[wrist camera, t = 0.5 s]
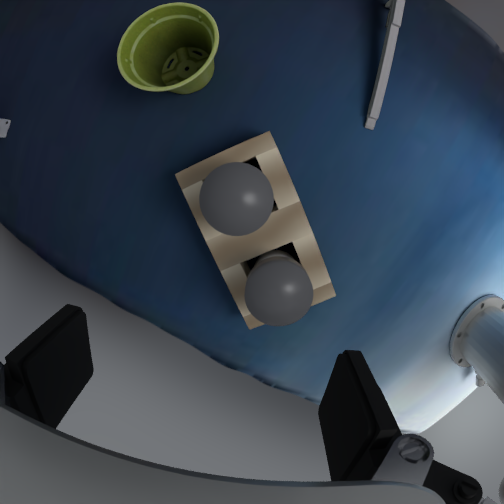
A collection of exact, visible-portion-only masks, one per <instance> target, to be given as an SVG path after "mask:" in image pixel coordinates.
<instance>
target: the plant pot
mask: <svg viewBox="0 0 504 504" xmlns="http://www.w3.org/2000/svg"><path fill="white" fill-rule="evenodd" d="M218 43H219V32H218V28H217V25H216V22H215V20H214V19H213V17H212V16H211V15H210V14H209V13H208V12H207V11H206V10H204V9H202V8H201V7H199V6H196V5H193V4H188V3H170V4H164V5H161V6H158V7H155V8H153V9H151V10H149V11H147V12H145V13H144V14H143V15H141V16H140V17H139V18H137V19H136V20H135V21H134V22H133V23H132V24H131V25H130V26H129V27H128V29H127V30H126V32H125V33H124V35H123V37H122V39H121V41H120V44H119V47H118V52H117V62H118V67H119V70H120V72H121V74H122V76H123V77H124V79H125V80H126V81H127V82H128V83H130V84H131V85H133V86H135V87H137V88H139V89H142V90H146V91H155V92H160V91H171V92H174V93H178V94H189V93H193V92H195V91H198V90H200V89H202V88H203V87H204V86H205V85H207V83H208V82H209V81H210V79H211V78H212V75H213V72H214V56H215V54H216V51H217V48H218ZM193 51H198V52H201V53H202V54H203V55H202V56H200V55H198V54H196V53H192V52H193ZM171 59H174V61H173V62H172V64H171V65H170V68H169V69H168V68H167V66H168V64H169V62H170V60H171ZM186 67H189V70H188V71H185V68H186ZM173 84H175V85H173Z"/></svg>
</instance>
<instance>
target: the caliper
mask: <svg viewBox="0 0 504 504" xmlns="http://www.w3.org/2000/svg"><path fill="white" fill-rule="evenodd" d="M404 4H405V0H390V1H388V2H387V3H386V4H385V7H386V8H389V9H390V11H389V14H388V17H387V23H386V26H385V27H386V28H387V31H386V36H385V41H384V45H383V50H382V55H381V59H380V63H379V68H378V72H377V76H376V80H375V84H374V88H373V92H372V96H371V100H370V104H369V108H368V113H367V120H366V124H365V128H368V129H370V130H373V128H374V126H375V123H376V120H378V117H379V113H380V109H381V105H382V102H383V98H384V94H385V90H386V86H387V81H388V77H389V73H390V69H391V64H392V60H393V55H394V50H395V45H396V40H397V35H398V30H399V27H400V26H401V21H402V15H403V9H404Z"/></svg>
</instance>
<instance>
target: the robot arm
mask: <svg viewBox="0 0 504 504" xmlns="http://www.w3.org/2000/svg"><path fill="white" fill-rule="evenodd" d="M450 355H451V357H452V359H453V360H454V362H455V363H456V364H457V365H459V366H461V367H471V366H472V367H473V368H474V370H475V373H476V374H477V375H476V385H477V386H483V385H484V384H485V382H486V383H487V384H488V386H489V387H490V388H491V389H492V390H493V392H494V393H495V394H496V395H497V396H498V398H499V399H500V400H501V401H502V403H503V404H504V300H503V299H502V298H500V297H498V296H496V295H487V296H484V297H482V298H480V299H478V300H477V301H476V302H474V303H473V304H472V305H471V306H470V307H469V308H468V309H467V310H466V311H465V312H464V314H463V315H462V316H461V318H460V319H459V321H458V323H457V325H456V327H455V329H454V331H453V334H452V337H451V341H450ZM5 360H6V364H5V365H3V364H2V363H1V362H0V504H497V503H495V502H494V501H493V500H492V499H490V498H489V497H486V498H485V499H484V498H482V488H481V486H480V484H479V482H478V481H477V480H476V479H474V478H472V477H470V476H468V475H466V474H463V473H461V472H459V471H457V470H454V469H452V468H450V467H448V466H446V465H443V464H441V463H439V462H437V461H435V460H433V457H434V450H433V447H432V445H431V444H430V443H429V442H428V441H427V440H426V439H425V438H423V437H421V436H419V435H416V434H404V435H402V434H401V431H400V429H399V427H398V425H397V423H396V421H395V418H394V416H393V414H392V412H391V410H390V408H389V406H388V403H387V401H386V399H385V397H384V395H383V393H382V391H381V389H380V388H379V386H378V385H377V383H376V381H375V379H374V377H373V375H372V373H371V371H370V369H369V367H368V365H367V363H366V360H365V358H364V356H363V354H362V353H361V351H354V350H345V351H344V352H343V354H339V355H338V357H337V360H336V362H335V365H334V368H333V371H332V374H331V377H330V380H329V382H328V385H327V388H326V390H325V393H324V396H323V398H322V401H321V404H320V406H319V411H318V415H319V420H320V425H321V430H322V435H323V440H324V445H325V450H326V455H327V460H328V465H329V471H330V476H331V481H328V482H296V481H295V482H294V481H270V480H255V479H244V478H234V477H227V476H219V475H212V474H206V473H200V472H194V471H188V470H184V469H179V468H174V467H169V466H165V465H161V464H157V463H153V462H149V461H145V460H141V459H137V458H134V457H131V456H127V455H124V454H121V453H117V452H114V451H111V450H108V449H105V448H102V447H99V446H97V445H93V444H91V443H88V442H86V441H83V440H80V439H78V438H75V437H73V436H70V435H68V434H66V433H63V432H61V431H59V430H56V427H57V426H58V424H59V423H60V421H61V420H62V418H63V417H64V415H65V414H66V413H67V411H68V409H69V408H70V407H71V405H72V404H73V402H74V401H75V399H76V398H77V396H78V395H79V394H80V392H81V391H82V390H83V388H84V387H85V385H86V384H87V383H88V381H89V379H90V378H91V377H92V375H93V363H92V357H91V350H90V344H89V336H88V329H87V320H86V314H85V313H84V312H83V310H82V308H80V307H78V306H73V305H70V304H67V305H65V306H64V307H63V308H62V309H60V310H59V311H58V312H57V313H56V314H54V315H53V316H52V317H51V318H50V319H48V320H47V321H46V322H45V323H44V324H42V325H41V326H40V327H39V328H38V329H36V330H35V331H34V332H33V333H32V334H31V335H29V336H28V337H27V338H26V339H25V340H24V341H23V342H22V343H20V344H19V345H18V346H17V347H16V348H15V349H13V350H12V351H11V352H10V353H9V354H8V355H7V356H6V357H5ZM499 498H500V502H501V504H504V478H503V480H502V482H501V484H500V487H499Z"/></svg>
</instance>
